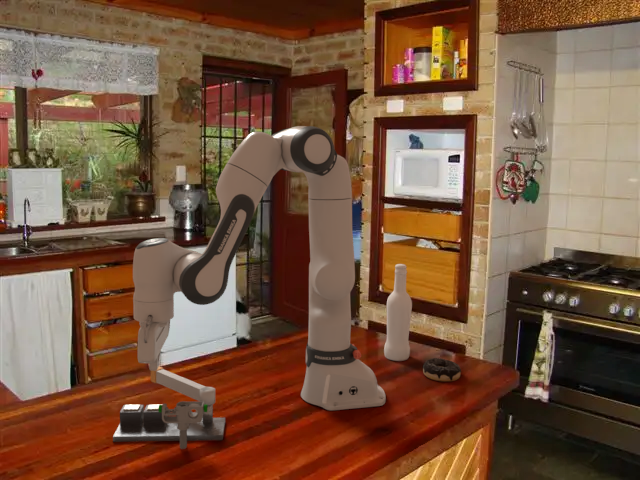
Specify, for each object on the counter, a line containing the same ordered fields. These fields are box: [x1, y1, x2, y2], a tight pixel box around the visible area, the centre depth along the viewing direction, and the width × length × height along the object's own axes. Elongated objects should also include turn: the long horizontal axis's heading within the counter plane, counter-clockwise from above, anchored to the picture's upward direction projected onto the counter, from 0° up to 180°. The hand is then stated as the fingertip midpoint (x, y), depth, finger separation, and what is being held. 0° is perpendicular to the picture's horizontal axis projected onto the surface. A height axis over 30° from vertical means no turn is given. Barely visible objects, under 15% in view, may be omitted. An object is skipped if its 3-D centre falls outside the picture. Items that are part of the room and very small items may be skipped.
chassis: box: [112, 404, 226, 443], centre depth 142 cm, size 24×9×6 cm, turn 95°
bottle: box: [383, 263, 413, 362], centre depth 195 cm, size 8×8×30 cm
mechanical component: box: [158, 400, 208, 450], centre depth 135 cm, size 3×10×10 cm, turn 95°
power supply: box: [143, 403, 165, 426], centre depth 144 cm, size 5×4×4 cm
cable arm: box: [150, 365, 216, 405], centre depth 151 cm, size 22×4×3 cm, turn 50°
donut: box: [422, 357, 462, 382], centre depth 183 cm, size 11×12×4 cm
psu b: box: [119, 404, 145, 426], centre depth 144 cm, size 5×4×4 cm
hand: (154, 368), depth 143 cm, fingers closed
